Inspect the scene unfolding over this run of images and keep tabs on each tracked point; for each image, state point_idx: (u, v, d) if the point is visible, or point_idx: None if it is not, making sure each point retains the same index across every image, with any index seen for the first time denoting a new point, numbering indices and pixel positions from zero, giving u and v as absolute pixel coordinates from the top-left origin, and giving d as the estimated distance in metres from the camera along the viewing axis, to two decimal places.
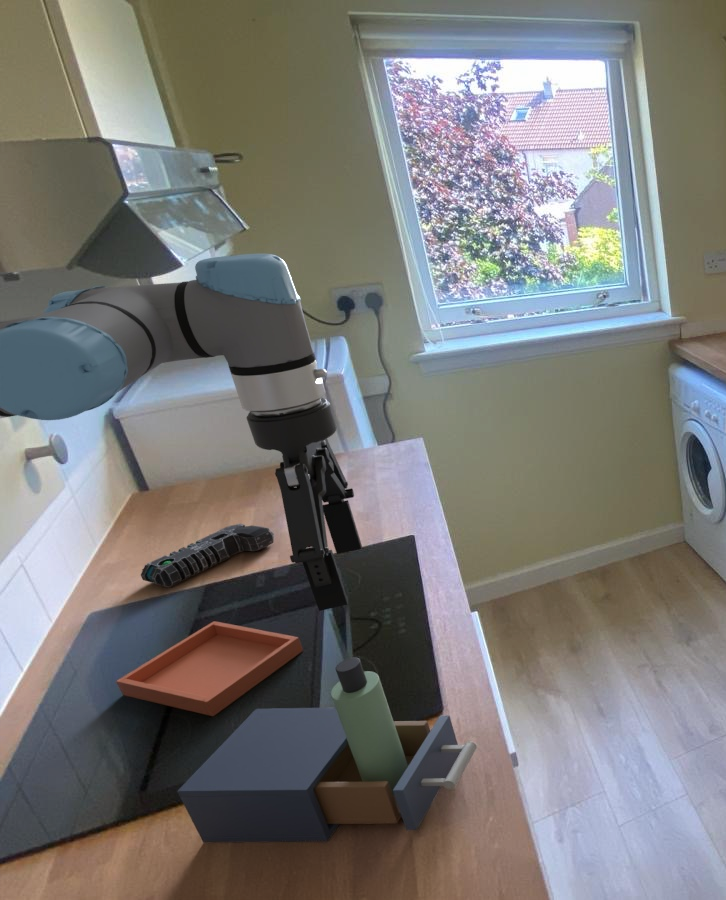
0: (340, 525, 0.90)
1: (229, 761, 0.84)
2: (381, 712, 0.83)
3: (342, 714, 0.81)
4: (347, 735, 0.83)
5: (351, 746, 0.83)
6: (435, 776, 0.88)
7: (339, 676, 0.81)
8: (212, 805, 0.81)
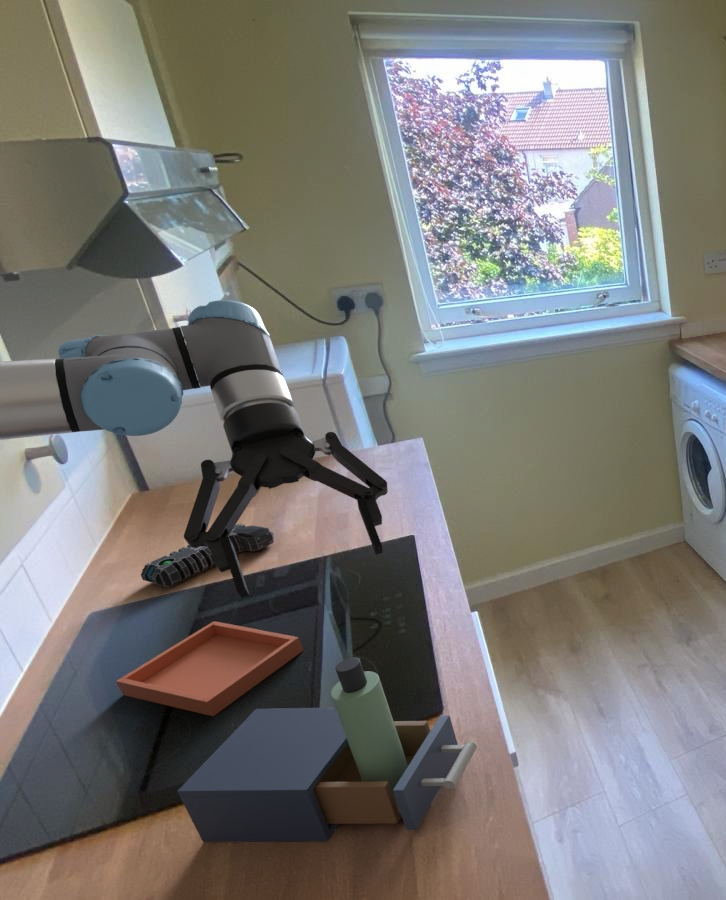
0: (237, 562, 0.82)
1: (229, 761, 0.84)
2: (381, 712, 0.83)
3: (342, 714, 0.81)
4: (347, 735, 0.83)
5: (351, 746, 0.83)
6: (435, 776, 0.88)
7: (339, 676, 0.81)
8: (212, 805, 0.81)
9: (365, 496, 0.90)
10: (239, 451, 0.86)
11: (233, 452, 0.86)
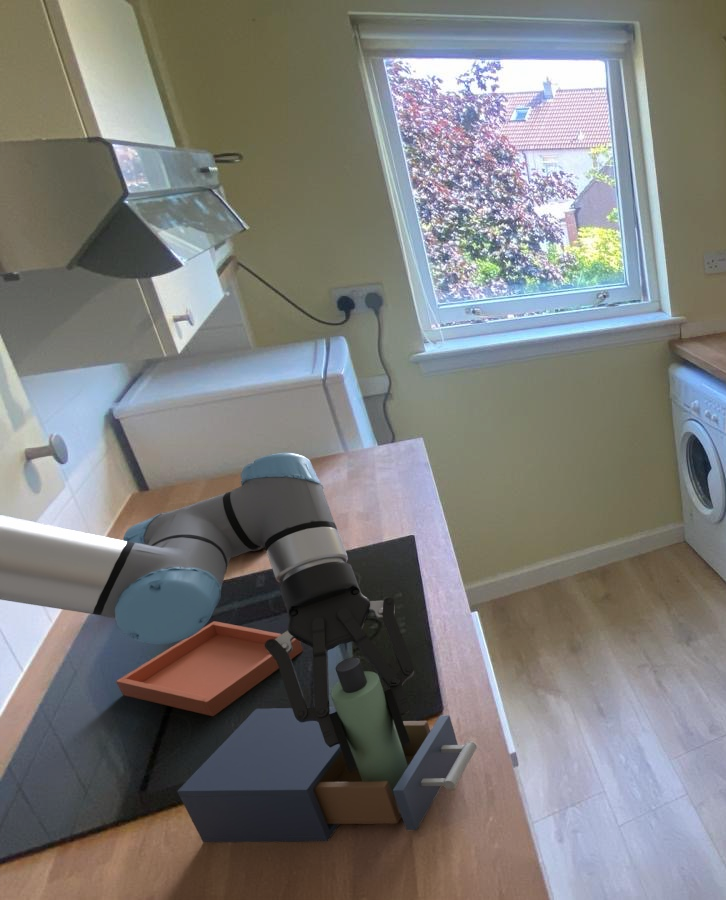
0: (345, 736, 0.82)
1: (229, 761, 0.84)
2: (381, 712, 0.83)
3: (342, 714, 0.81)
4: (347, 735, 0.83)
5: (351, 746, 0.83)
6: (435, 776, 0.88)
7: (339, 676, 0.81)
8: (212, 805, 0.81)
9: (389, 685, 0.85)
10: (296, 615, 0.84)
11: (290, 617, 0.84)
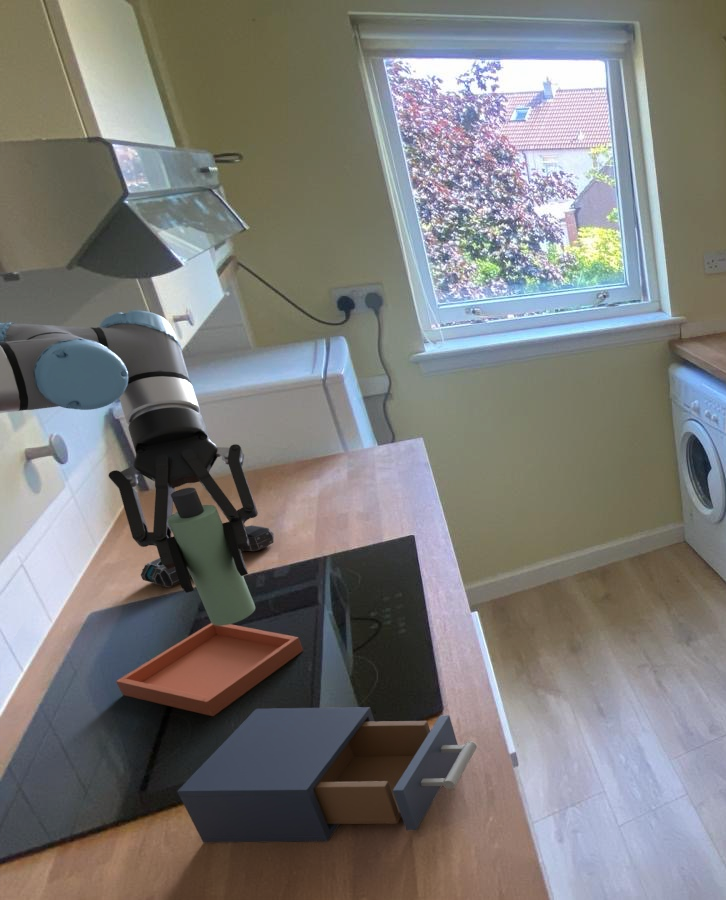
0: (183, 560, 0.90)
1: (229, 761, 0.84)
2: (217, 540, 0.91)
3: (178, 537, 0.88)
4: (185, 560, 0.90)
5: (190, 571, 0.91)
6: (435, 776, 0.88)
7: (174, 501, 0.88)
8: (212, 805, 0.81)
9: (228, 518, 0.92)
10: (142, 453, 0.92)
11: (136, 454, 0.92)
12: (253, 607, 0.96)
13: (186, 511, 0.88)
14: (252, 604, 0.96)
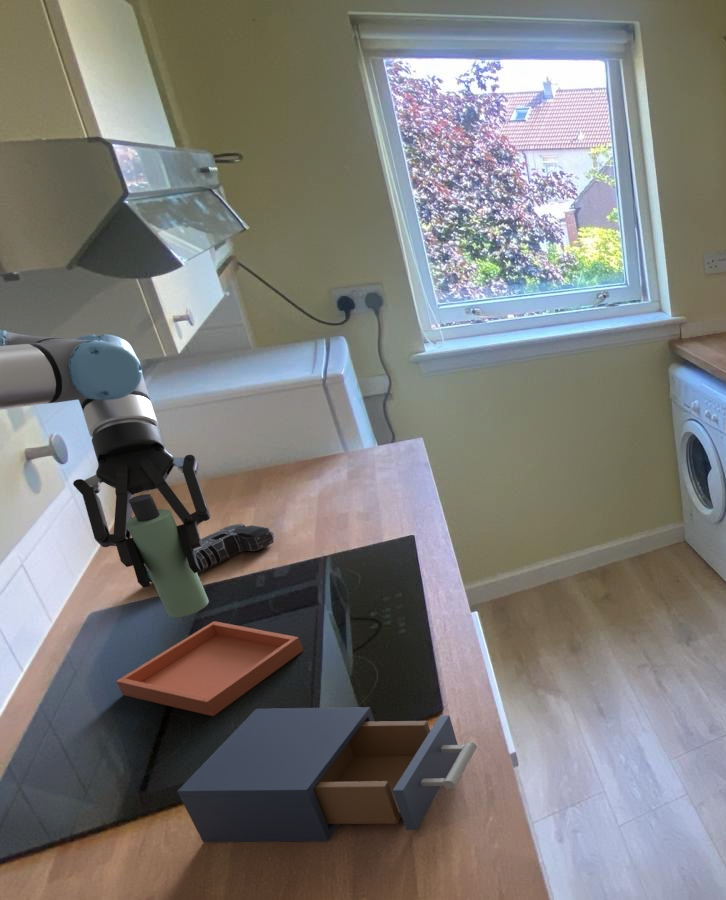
0: (140, 559, 1.00)
1: (229, 761, 0.84)
2: (171, 540, 1.01)
3: (136, 538, 0.99)
4: (142, 558, 1.01)
5: (147, 568, 1.01)
6: (435, 776, 0.88)
7: (132, 506, 0.99)
8: (212, 805, 0.81)
9: (182, 521, 1.03)
10: (104, 463, 1.02)
11: (99, 464, 1.02)
12: (206, 601, 1.07)
13: (143, 515, 0.99)
14: (205, 598, 1.07)
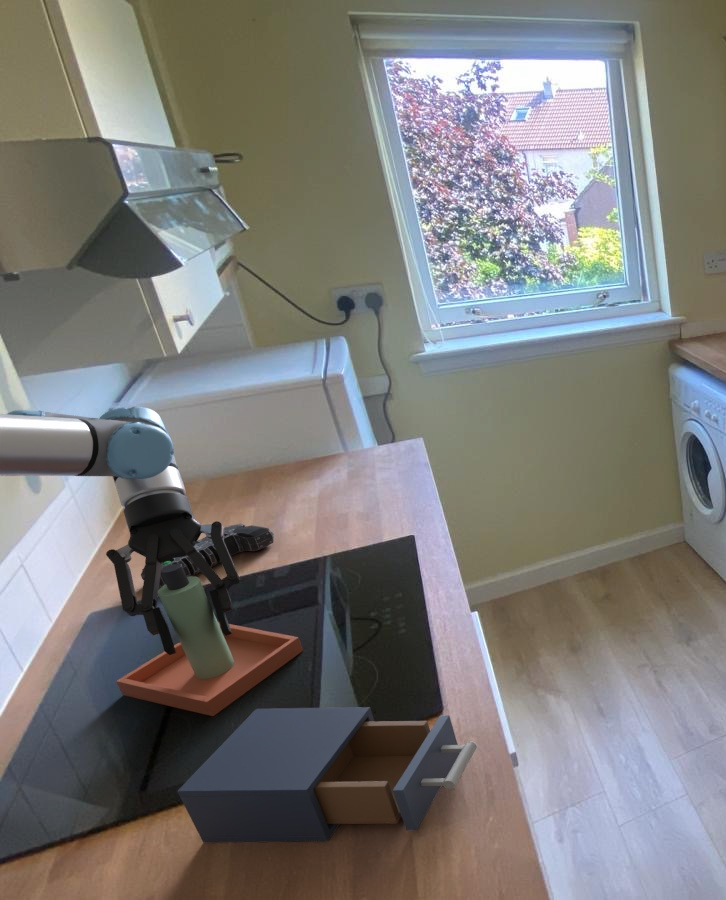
0: (166, 627, 1.05)
1: (229, 761, 0.84)
2: (200, 607, 1.06)
3: (166, 606, 1.04)
4: (173, 625, 1.05)
5: (177, 634, 1.06)
6: (435, 776, 0.88)
7: (163, 576, 1.03)
8: (212, 805, 0.81)
9: (215, 587, 1.08)
10: (136, 533, 1.07)
11: (131, 534, 1.07)
12: (232, 662, 1.12)
13: (173, 584, 1.04)
14: (231, 659, 1.11)
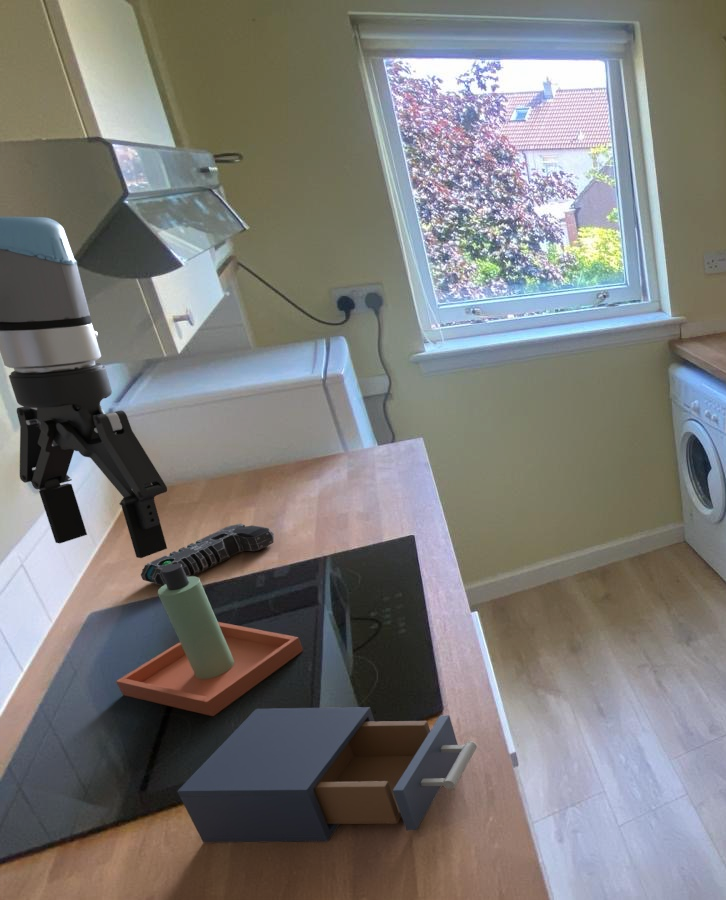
0: (64, 510, 0.86)
1: (229, 761, 0.84)
2: (200, 607, 1.06)
3: (167, 606, 1.04)
4: (173, 625, 1.05)
5: (177, 634, 1.06)
6: (435, 776, 0.88)
7: (163, 576, 1.03)
8: (212, 805, 0.81)
9: None
10: (39, 407, 0.80)
11: None
12: (232, 662, 1.12)
13: (173, 584, 1.04)
14: (231, 659, 1.11)
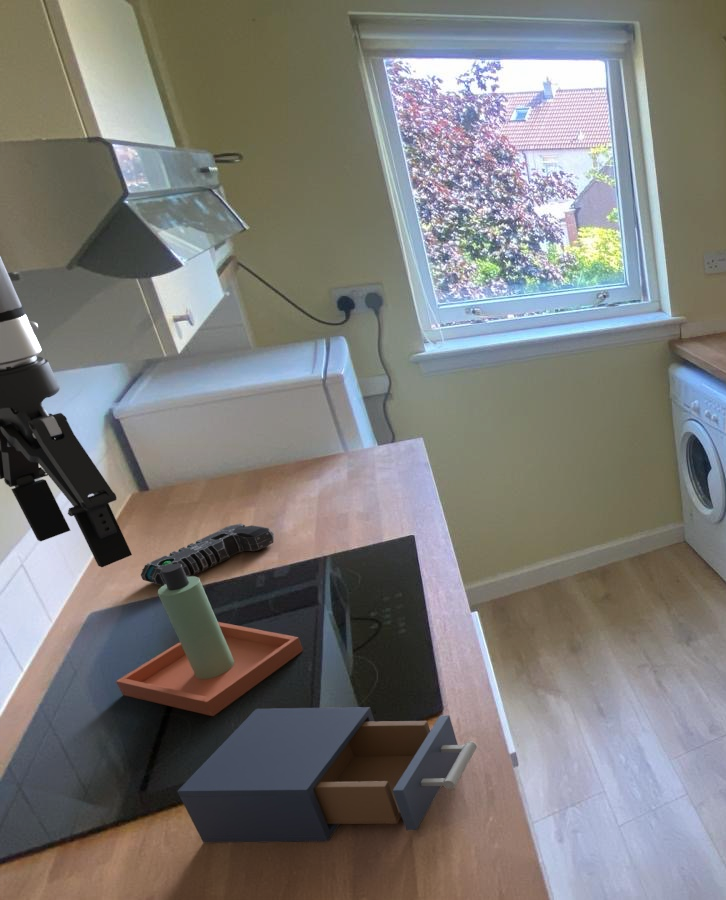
0: (40, 507, 0.82)
1: (229, 761, 0.84)
2: (200, 607, 1.06)
3: (167, 606, 1.04)
4: (173, 625, 1.05)
5: (177, 634, 1.06)
6: (435, 776, 0.88)
7: (163, 576, 1.03)
8: (212, 805, 0.81)
9: None
10: None
11: None
12: (232, 662, 1.12)
13: (173, 584, 1.04)
14: (231, 659, 1.11)
